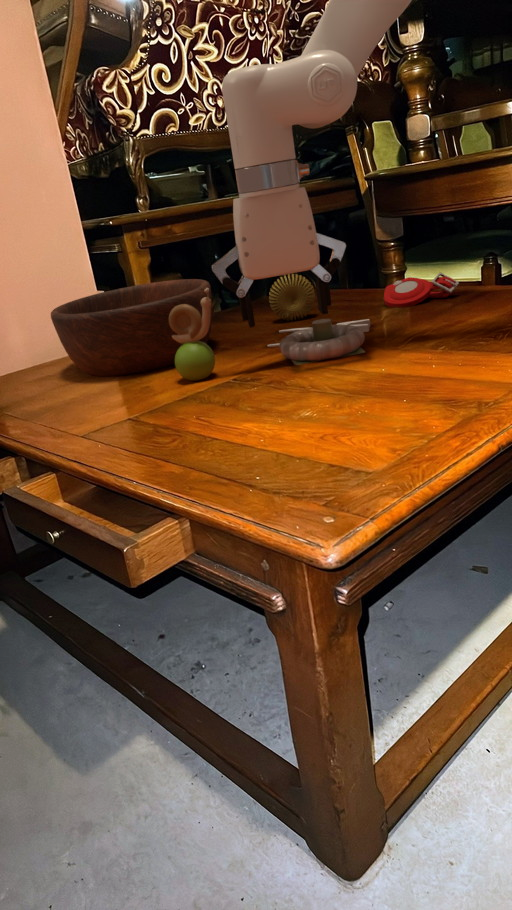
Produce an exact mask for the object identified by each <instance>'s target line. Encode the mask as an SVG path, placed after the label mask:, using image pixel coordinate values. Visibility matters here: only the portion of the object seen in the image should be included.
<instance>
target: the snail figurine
mask: <svg viewBox="0 0 512 910" xmlns="http://www.w3.org/2000/svg"><path fill="white" fill-rule="evenodd" d="M204 292H205V293H208V294H207V297H204V298H202V300H201V306H202V318H201V315H200V313H199V312H198V310H197V309H196V308H194V307H193V306H191V305H188V304H180V305H177V306H175V307H174V308H173V309H172V310H171V312H170V314H169V325H170V327H171V329H172V330H173V331H174V332H175V333H177V334H178V335H172V338H173V339H174V340H176V341H177V342H179V343H182V344H183V345H182V346H180V348H179V349H178V350H177V352H176V355H175V364H174V366H175V369H176V371H177V373H178V374H179V375H180V376H181V377H182V378H184V379H185V380H187V381H190V382H198V381H203V380H205V379H207V378H208V377H209V376H211V374H212V373H213V371H214V369H215V365H216V357H215V354H214V353H215V352H214V351H213V349H212V348H211V346H210V345H208V343H207V344H205V343H203V342H201V341H199V340H200V339H202V338H203V337H204V336H205V335H206V334H207V332H208V330H209V326H210V316H211V311H210V308H211V300H210V299H209V297H208V296H209V288H206V289H205V290H204Z"/></svg>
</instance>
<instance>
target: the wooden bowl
mask: <svg viewBox="0 0 512 910" xmlns="http://www.w3.org/2000/svg"><path fill="white" fill-rule="evenodd" d="M206 288H209V296H208V297H209V299H210V300H211V308H210V311H211V316H210V326H209V330H208V332H207V334H206V335H205V336H204V337H203V338H202V339H200V340H199V341H201V342H203V343H205V344H207V345H208V341H209V339H210V335H211V332H212V324H213V323H212V322H213V304H212V303H213V301H212V289H211V284H210V282H209V281H207V280H205V279H197V278H186V279H185V278H184V279H183V278H182V279H171V280H164V281H156V282H148V283H142V284H137V285H131V286H126V287H121V288H116V289H112V290H107V291H102V292H99V293H95V294H91V295H86V296H84V297H80V298H77V299H74V300H71V301H68V302H65V303H63V304H60V305H58V306H57V307H54V308H53V309H52V310H51V311H50V319H51V322H52V325H53V327H54V329H55V332H56V334H57V336H58V338H59V341H60V343H61V345H62V347H63V349H64V350H65V353H66V354H67V356H68V357H69V359H70V360H71V361H72V362H73V364H74V365H75V366H76V367H77V368H78V369H79V370H80V371H81V372H83V373H85V374H87V375H89V376H94V377H120V376H128V375H136V374H141V373H146V372H150V371H155V370H159V369H164V368H167V367H171V366H175V355H176V352H177V350H178V349H179V348H180V346H182V345H183V344H182V343H179V342H177V341H176V340H174V339H173V338H172V335H178V334H177V333H175V332H174V331H173V330H172V329H171V327H170V325H169V314H170V312H171V310H172V309H173V308H174V307H175V306H177V305H180V304H188V305H191V306H193V307H194V308H196V309H197V310H198V312H199V313H200V315H201V318H202V306H201V300H202V298H204V297H207V294H208V293H205V292H204V290H205V289H206Z"/></svg>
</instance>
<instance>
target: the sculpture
mask: <svg viewBox="0 0 512 910" xmlns="http://www.w3.org/2000/svg"><path fill="white" fill-rule="evenodd" d="M279 278H280V279H279ZM279 278H277V279H276V281H274V282H273V284H272V285H271V287H270V290H269V292H268V295H269V296H268V299H269V300H268V302H269V303H270V304H269V306H270V309H271V310H272V311H273V313H274V314H275V315H276V316H277V317H278V318H279V319H282V320H284V321H287V322H289V321H291V322H292V321H293V320H294V321H297V320H299V321H300V320H301V319H304V318H305V317H307V316H308V315H309V314H310V313H311V312H310V311H313V308H314V306H315V303H316V292H315V289H314V286H313V284H312V283H311V281H309V279H307V278H306V277H305V276H302V274H298V273H291V274H286V275H280V276H279ZM307 314H308V315H307Z"/></svg>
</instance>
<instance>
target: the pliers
mask: <svg viewBox="0 0 512 910" xmlns="http://www.w3.org/2000/svg"><path fill="white" fill-rule="evenodd" d="M338 324H341V325H351V326H356V327H357V328H359V329H360V330H361V331H362V332H363V333H368V332H370V328H371V320H370V319H369V318H367V319H359V320H352V321H344V322H338V323H336V324H335V325H338ZM307 328H308V327H298V328H297V327H296V328H288V329H281V330H280V329H279V330H278V334H282V333H294V332H297V331H300V330H303V329H307ZM309 328H312V326H311V327H310V326H309ZM279 344H280V342H278V343H270V344H267V348H276V347H279Z"/></svg>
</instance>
